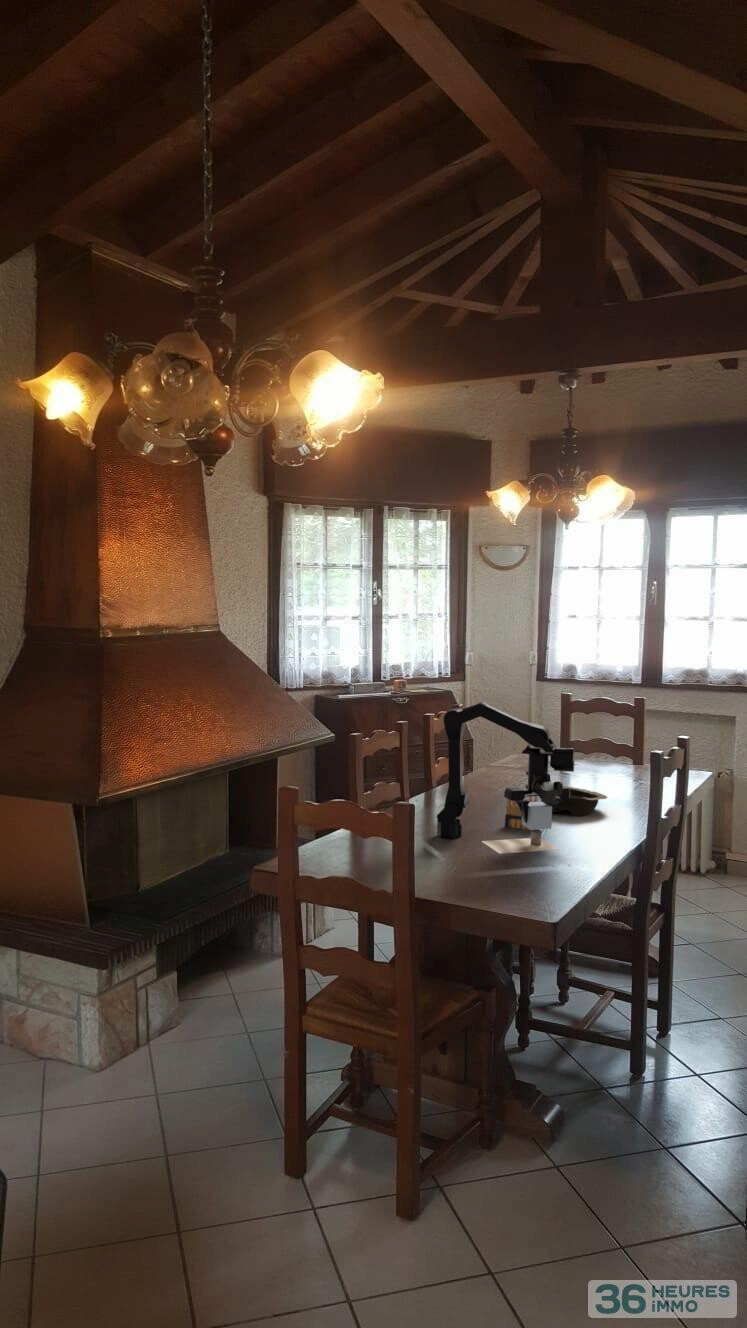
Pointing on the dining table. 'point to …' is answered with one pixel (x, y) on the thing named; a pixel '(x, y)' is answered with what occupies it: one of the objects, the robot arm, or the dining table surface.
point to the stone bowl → (579, 801)
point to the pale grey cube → (538, 816)
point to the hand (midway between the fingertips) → (536, 821)
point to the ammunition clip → (515, 815)
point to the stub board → (521, 844)
